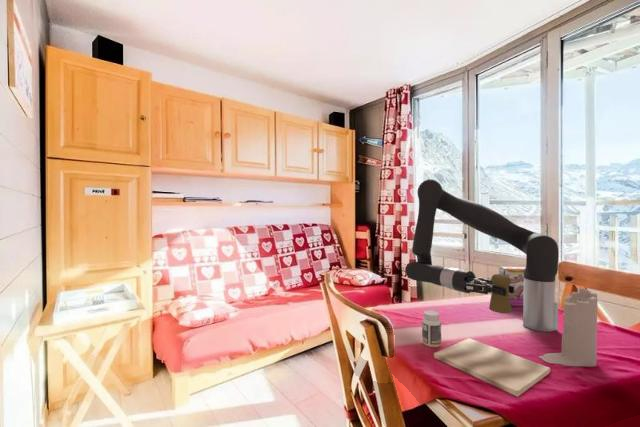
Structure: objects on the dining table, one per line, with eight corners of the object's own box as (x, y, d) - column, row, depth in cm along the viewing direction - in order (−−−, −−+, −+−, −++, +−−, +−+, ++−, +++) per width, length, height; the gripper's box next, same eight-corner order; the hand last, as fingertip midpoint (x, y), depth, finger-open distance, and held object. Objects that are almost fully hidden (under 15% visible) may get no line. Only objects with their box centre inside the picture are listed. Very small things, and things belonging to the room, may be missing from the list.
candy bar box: (503, 306, 132) (503, 268, 132) (497, 302, 137) (498, 266, 137) (530, 307, 131) (531, 269, 131) (524, 303, 136) (524, 266, 136)
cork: (484, 306, 97) (485, 272, 97) (502, 306, 98) (503, 272, 98) (497, 313, 91) (498, 277, 91) (516, 313, 92) (517, 276, 92)
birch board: (433, 357, 88) (433, 353, 88) (468, 341, 98) (468, 338, 98) (517, 396, 70) (517, 391, 70) (550, 372, 80) (550, 368, 80)
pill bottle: (441, 341, 98) (441, 311, 98) (440, 349, 93) (440, 317, 93) (423, 338, 100) (423, 308, 100) (421, 345, 95) (421, 314, 95)
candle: (533, 353, 90) (534, 286, 89) (581, 354, 90) (582, 286, 89) (551, 366, 83) (552, 292, 82) (603, 367, 82) (605, 293, 82)
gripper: (445, 271, 102) (498, 282, 88) (468, 266, 110) (521, 275, 96) (444, 293, 102) (498, 308, 88) (468, 287, 110) (521, 299, 96)
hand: (510, 291), depth 92 cm, fingers closed on cork, 3 cm apart
